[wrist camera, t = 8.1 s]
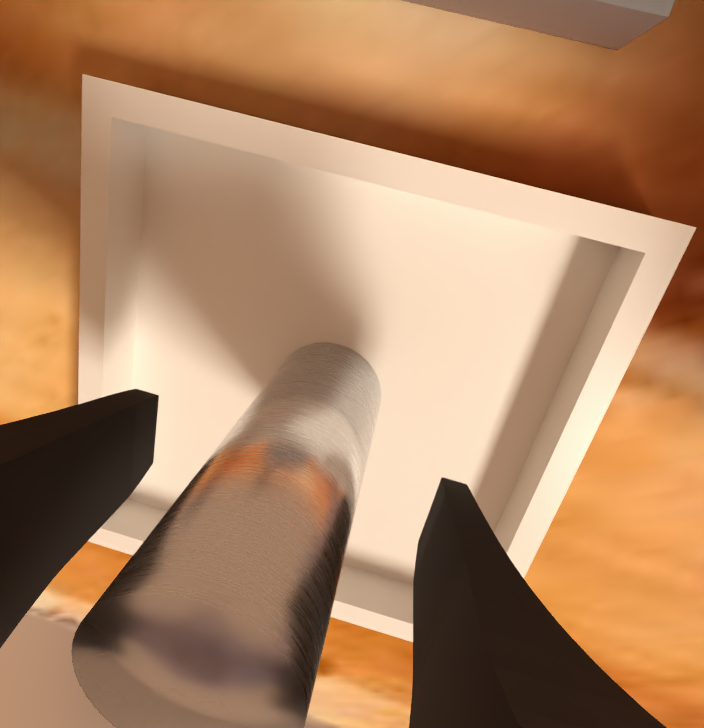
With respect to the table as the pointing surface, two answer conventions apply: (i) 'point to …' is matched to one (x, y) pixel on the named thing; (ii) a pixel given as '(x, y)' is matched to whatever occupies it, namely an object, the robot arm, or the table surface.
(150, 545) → the pin
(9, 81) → the table surface
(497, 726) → the robot arm
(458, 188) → the tray
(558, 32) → the socket block
